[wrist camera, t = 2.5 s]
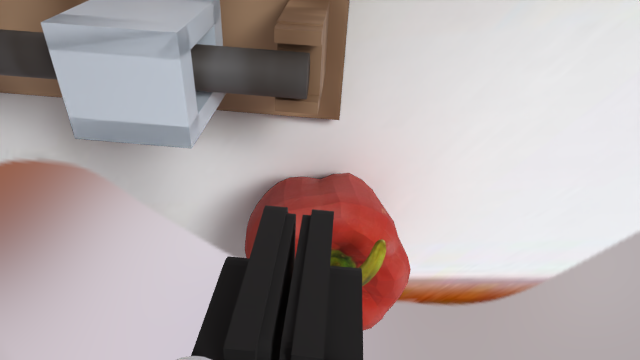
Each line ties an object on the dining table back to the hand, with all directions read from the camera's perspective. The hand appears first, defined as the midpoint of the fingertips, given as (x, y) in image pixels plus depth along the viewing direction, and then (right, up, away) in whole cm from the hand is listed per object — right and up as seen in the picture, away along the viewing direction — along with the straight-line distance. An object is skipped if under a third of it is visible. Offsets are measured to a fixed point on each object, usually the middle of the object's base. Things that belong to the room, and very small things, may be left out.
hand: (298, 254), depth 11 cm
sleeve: (-7, +9, +11) cm, 16 cm away
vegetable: (+1, 0, +21) cm, 21 cm away
